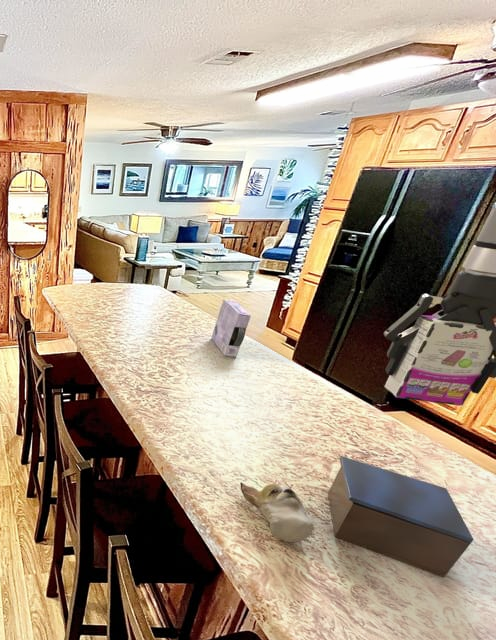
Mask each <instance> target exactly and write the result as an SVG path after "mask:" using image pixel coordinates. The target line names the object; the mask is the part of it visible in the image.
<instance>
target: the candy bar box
mask: <svg viewBox="0 0 496 640" xmlns="http://www.w3.org/2000/svg"><path fill="white" fill-rule="evenodd" d="M494 323H495V325H496V322H494ZM413 326H414V327H413ZM413 326H412V327H413V328H420V329H419V331H418V333H417V335H416V337H415V338H413V339H411V340H410V341H408V342H406V343H405V344H406V345H407V349H406V351H405V353H404V354H403V356H402V358H401V360H400V362H399V364H398V366H397V368H396V370H395V372H394V374H393V376H391V375H388V378H387V380H386V382H385V384H384V385H383V386H384V388H385V390H386V391H388V392H389V393H391V394H392V395H393V396H394V397H395V398H398V399H404V400H410V401H411V400H412V401H418V402H419V401H420V402H426V403H435V404H443V405H452V406H461V407H462V406H463V405H464V404H465V402H466V401H467V399H468V397H469V396H470V393H472V391H471V390H472V389H473V387H474V385H475V384H476V382H477V380H478V379H479V377H480V376H481V374H482V372H483V370H484V369H485V367H486V365H487V364H488V362H489V361H490V359H491V358H493V357H494V355H493V354H494V350H493V347H492V344H491V342H490V339H489V337H490V335H491V333H492V331H486V328H485V326H484V325H483V324H482V325H477V324H471V323H464V322H457V321H451V320H450V321H443V320H437V319H436V318H435V317H434V316H432V315H426V314H422V315H421V316H419V317H418V318H417V319H416V320H415V323H414V325H413Z"/></svg>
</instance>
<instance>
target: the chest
mask: <svg viewBox="0 0 496 640" xmlns="http://www.w3.org/2000/svg"><path fill="white" fill-rule="evenodd" d="M327 496H328V502H329V510H330V515H331V521H332V526H333V533H334V537H335V538H336V539H339V540H342V541H345V542H348V543H350V544H353V545H356V546H359V547H361V548H364V549H367V550H369V551H372V552H375V553H378V554H380V555H383V556H385V557H387V558H388V557H389V558H390V559H393V560H396V561H399V562H401V563H404V564H407V565H410V566H412V567H415V568H417V569H420V570H423V571H425V572H429V573H431V574H434V575H437V576H439V577H442V578H445V577H446V575H447V574H448V573H449V572H450V571H451V569H452V568H453V567H454V566H455V564H456V563H457V562H458V561H459V559H460V558H461V557H462V555H463V554H464V553H465V551H466V550H467V549H468V548H469V546H471V543H472V542H471V543H470V542H467V541H465V540H462V539H459V538H456V537H453V536H450V535H447V534H444V533H442V532H439V531H436V530H433V529H430V528H427V527H424V526H421V525H419V524H416V523H413V522H410V521H407V520H404V519H401V518H398V517H396V516H393V515H390V514H387V513H384V512H381V511H378V510H375V509H373V508H370V507H367V506H364V505H361V504H358V503H355V502H352V501H350V500H348V495H347V490H346V486H345V481H344V477H343V472H342V467H341V466H340V467H339V470H338V472H337V473H336V475H335V477H334V479H333V481H332V484H331V486H330V488H329V490H328V492H327Z"/></svg>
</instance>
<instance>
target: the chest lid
mask: <svg viewBox="0 0 496 640" xmlns="http://www.w3.org/2000/svg"><path fill="white" fill-rule="evenodd" d="M339 462H340V468H341V467H342V472H343V477H344V481H345V486H346V490H347V495H348V500H350V501H352V502H355V503H358V504H361V505H364V506H367V507H370V508H373V509H375V510H378V511H381V512H384V513H387V514H390V515H393V516H396V517H398V518H401V519H404V520H407V521H410V522H413V523H416V524H419V525H421V526H424V527H427V528H430V529H433V530H436V531H439V532H442V533H444V534H447V535H450V536H453V537H456V538H459V539H462V540H465V541H467V542H470V543H473V542H474V540H475V539H474V537H473V535H472V533H471V532H470V530H469V528H468V526H467V524H466V522H465V521H464V519H463V517H462V515H461V513H460V511H459V509H458V508H457V505H456V504H455V502H454V500H453V497H452V496H451V494H450V493H449V490H448V489H447V487H444V486H440V485H436V484H434V483H430V482H427V481H424V480H421V479H418V478H414V477H412V476H411V477H410V476H409V475H405V474H402V473H398V472H395V471H392V470H388V469H385V468H382V467H378V466H376V465H372V464H369V463H366V462H362V461H358V460H356V459H352V458H350V457H346V456H343V455H341V456H340V457H339Z"/></svg>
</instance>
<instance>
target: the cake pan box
mask: <svg viewBox="0 0 496 640" xmlns="http://www.w3.org/2000/svg"><path fill="white" fill-rule="evenodd" d="M250 320H251V314H250V313H249V312H248V311H246V310H245V309H244V308H243V307H242V306H241V305H240V304H239V303H238V302H237V301H236V300H235V299H225V298H224V299H223V300H222V302H221V305H220V309H219V312H218V315H217V318H216V322H215V326H214V327H213V331H212V334H211V339H210V340H212V341H213V342H214V344H215V346H216V347H217V348H218V350H219V351H220V352H221V354H223V356H224V357H227V358H237V356H238V354H239V351H240V348H241V345H242V344H243V342H244V339H245V336H246V332H247V328H248V326H249V323H250Z"/></svg>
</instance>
